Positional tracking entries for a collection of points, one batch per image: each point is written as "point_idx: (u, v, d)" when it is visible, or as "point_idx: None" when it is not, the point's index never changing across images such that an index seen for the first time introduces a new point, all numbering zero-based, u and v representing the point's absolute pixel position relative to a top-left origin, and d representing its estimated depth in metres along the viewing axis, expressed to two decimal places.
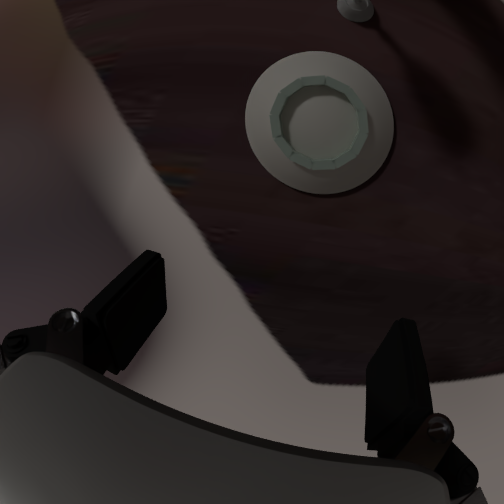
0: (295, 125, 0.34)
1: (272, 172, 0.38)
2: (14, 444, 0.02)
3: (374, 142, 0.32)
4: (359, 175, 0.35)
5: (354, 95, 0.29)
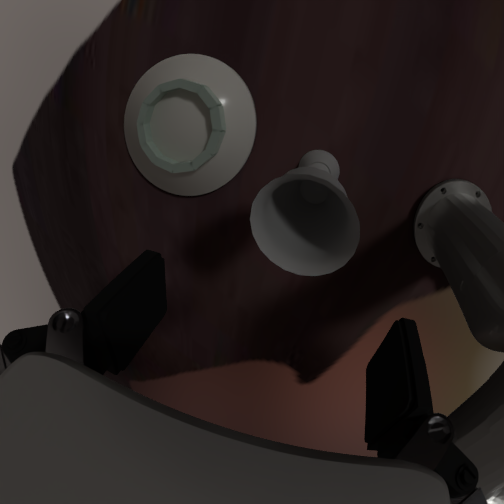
0: (176, 102, 0.32)
1: (135, 87, 0.32)
2: (14, 444, 0.02)
3: (171, 177, 0.38)
4: (143, 166, 0.38)
5: (204, 159, 0.34)
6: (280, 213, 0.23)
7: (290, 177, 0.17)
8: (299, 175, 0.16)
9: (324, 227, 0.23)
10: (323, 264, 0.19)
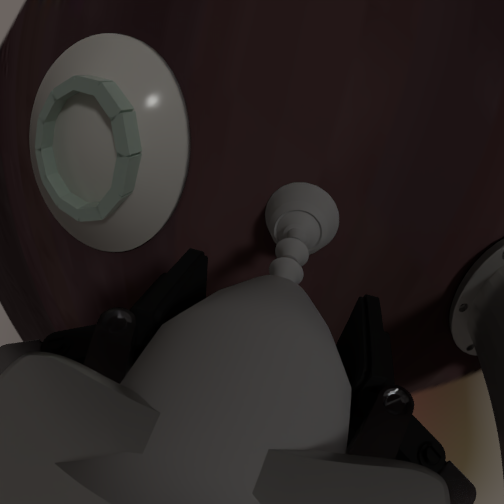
0: (77, 112, 0.18)
1: (37, 97, 0.18)
2: (14, 444, 0.02)
3: (84, 224, 0.24)
4: (54, 206, 0.24)
5: (112, 203, 0.20)
6: None
7: (95, 470, 0.03)
8: (112, 495, 0.02)
9: None
10: None
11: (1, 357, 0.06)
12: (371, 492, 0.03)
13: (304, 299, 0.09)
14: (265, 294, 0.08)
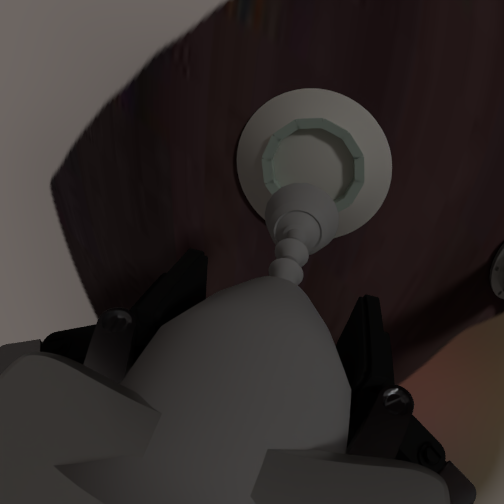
0: (309, 141, 0.32)
1: (256, 114, 0.32)
2: (14, 444, 0.02)
3: None
4: (259, 204, 0.38)
5: (341, 207, 0.34)
6: None
7: (94, 472, 0.03)
8: (111, 498, 0.02)
9: None
10: None
11: (1, 357, 0.06)
12: (371, 492, 0.03)
13: (304, 300, 0.09)
14: (264, 295, 0.08)
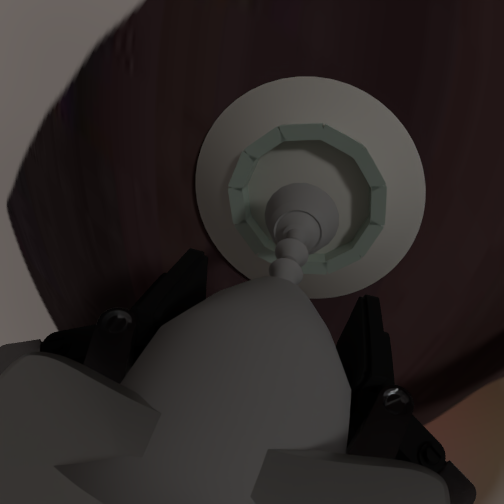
0: (302, 159, 0.21)
1: (221, 119, 0.21)
2: (14, 444, 0.02)
3: None
4: (230, 249, 0.27)
5: (348, 261, 0.23)
6: None
7: (93, 473, 0.03)
8: (111, 498, 0.02)
9: None
10: None
11: (1, 357, 0.06)
12: (371, 492, 0.03)
13: (304, 300, 0.09)
14: (264, 295, 0.08)
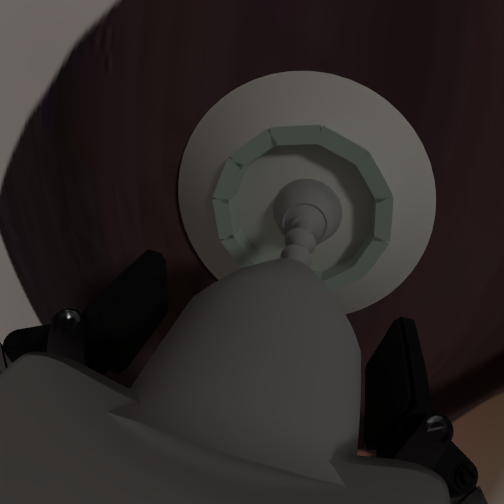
0: (296, 166, 0.19)
1: (204, 121, 0.19)
2: (14, 444, 0.02)
3: None
4: (218, 265, 0.24)
5: (348, 281, 0.20)
6: None
7: None
8: (170, 428, 0.03)
9: None
10: None
11: None
12: (371, 492, 0.03)
13: (316, 276, 0.10)
14: (284, 269, 0.09)
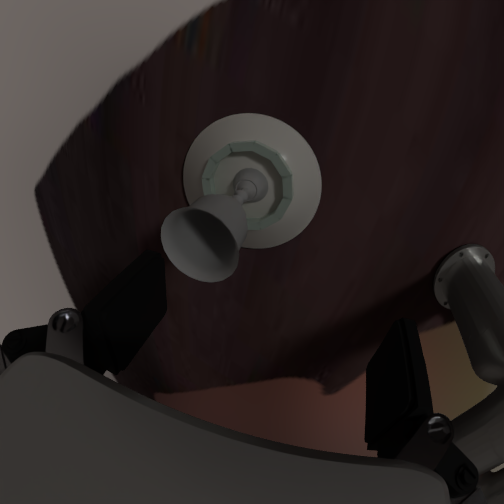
0: (244, 161, 0.37)
1: (198, 138, 0.37)
2: (14, 444, 0.02)
3: None
4: None
5: (272, 221, 0.39)
6: (196, 230, 0.29)
7: (185, 209, 0.22)
8: (189, 208, 0.22)
9: (233, 241, 0.29)
10: (218, 273, 0.25)
11: None
12: (371, 492, 0.03)
13: (236, 199, 0.28)
14: (222, 194, 0.27)
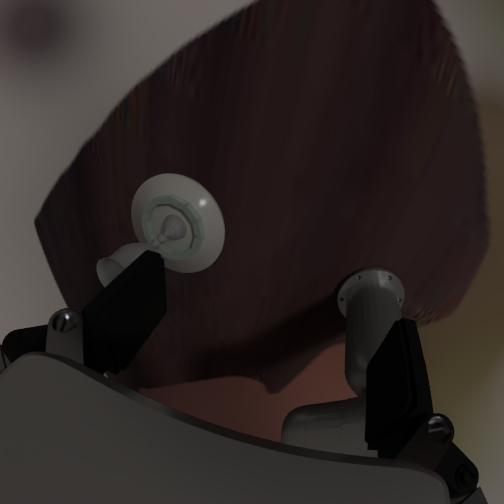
0: (168, 210, 0.50)
1: (137, 193, 0.50)
2: (14, 444, 0.02)
3: (169, 259, 0.55)
4: None
5: (191, 254, 0.51)
6: None
7: (105, 258, 0.35)
8: (107, 258, 0.34)
9: None
10: None
11: None
12: (371, 492, 0.03)
13: (146, 246, 0.41)
14: (136, 243, 0.40)
